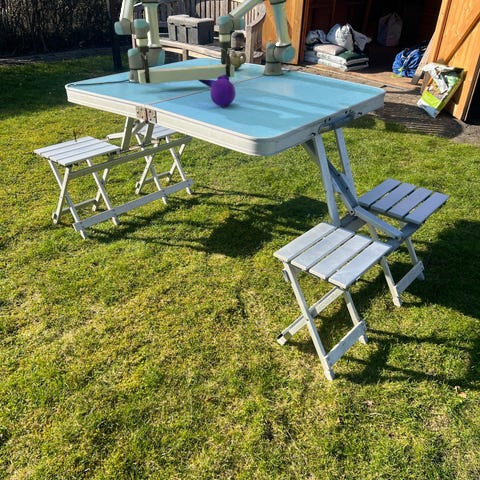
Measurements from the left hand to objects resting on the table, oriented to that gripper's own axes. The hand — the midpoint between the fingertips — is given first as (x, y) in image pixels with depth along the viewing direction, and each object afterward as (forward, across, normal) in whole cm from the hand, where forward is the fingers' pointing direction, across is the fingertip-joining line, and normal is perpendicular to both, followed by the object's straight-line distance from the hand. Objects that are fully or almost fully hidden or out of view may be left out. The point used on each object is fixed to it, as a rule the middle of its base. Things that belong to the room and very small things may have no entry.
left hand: (147, 81), depth 302 cm
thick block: (+1, 0, -28) cm, 28 cm away
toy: (+7, -50, -36) cm, 62 cm away
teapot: (+7, +57, -79) cm, 98 cm away
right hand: (0, 0, -56) cm, 56 cm away
